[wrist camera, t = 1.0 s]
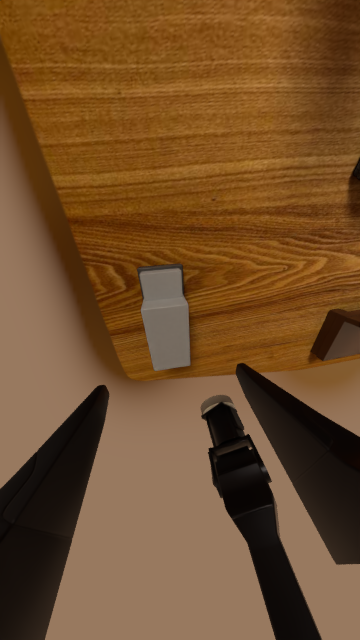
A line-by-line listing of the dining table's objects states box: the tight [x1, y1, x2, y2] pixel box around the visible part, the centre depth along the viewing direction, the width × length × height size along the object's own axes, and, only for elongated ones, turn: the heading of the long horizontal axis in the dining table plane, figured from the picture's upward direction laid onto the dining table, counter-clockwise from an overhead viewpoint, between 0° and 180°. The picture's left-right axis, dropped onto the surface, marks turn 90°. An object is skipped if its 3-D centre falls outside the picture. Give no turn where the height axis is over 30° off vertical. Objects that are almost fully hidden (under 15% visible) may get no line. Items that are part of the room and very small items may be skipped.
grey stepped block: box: [137, 264, 190, 371], centre depth 16 cm, size 12×5×5 cm, turn 4°
